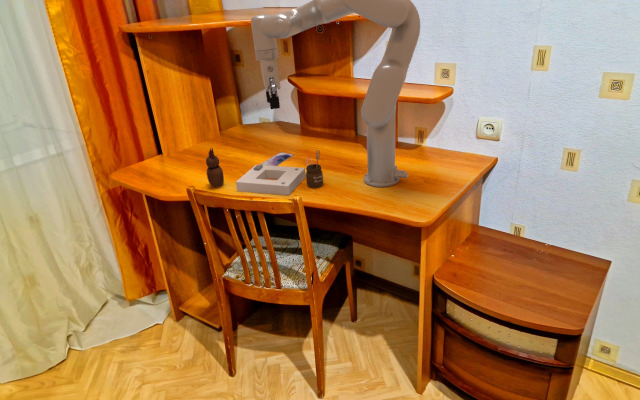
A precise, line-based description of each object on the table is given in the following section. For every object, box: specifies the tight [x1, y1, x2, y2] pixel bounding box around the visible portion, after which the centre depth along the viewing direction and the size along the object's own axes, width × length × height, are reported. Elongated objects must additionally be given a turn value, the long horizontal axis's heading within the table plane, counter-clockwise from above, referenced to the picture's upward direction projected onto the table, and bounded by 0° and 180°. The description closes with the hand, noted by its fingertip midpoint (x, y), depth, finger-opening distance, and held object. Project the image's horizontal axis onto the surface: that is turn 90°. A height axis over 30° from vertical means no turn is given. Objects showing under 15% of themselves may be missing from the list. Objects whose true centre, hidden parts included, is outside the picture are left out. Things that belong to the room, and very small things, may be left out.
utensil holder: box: [305, 149, 324, 189], centre depth 158 cm, size 6×6×12 cm
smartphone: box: [259, 152, 294, 166], centre depth 185 cm, size 7×1×15 cm
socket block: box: [235, 164, 306, 196], centre depth 163 cm, size 20×16×4 cm
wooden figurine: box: [205, 147, 225, 188], centre depth 163 cm, size 7×6×15 cm
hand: (273, 105), depth 158 cm, fingers open, 9 cm apart
